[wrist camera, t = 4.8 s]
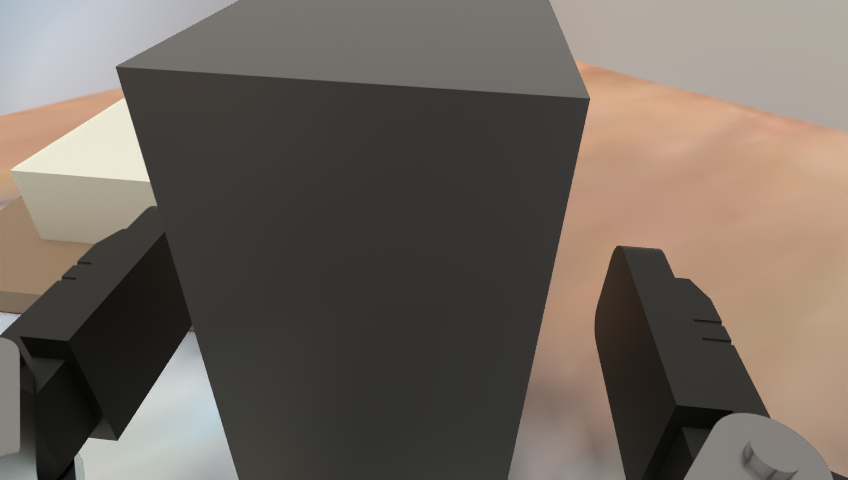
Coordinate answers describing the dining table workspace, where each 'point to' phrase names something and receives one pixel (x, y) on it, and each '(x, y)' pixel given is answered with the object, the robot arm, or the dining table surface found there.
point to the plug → (364, 222)
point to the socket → (70, 204)
